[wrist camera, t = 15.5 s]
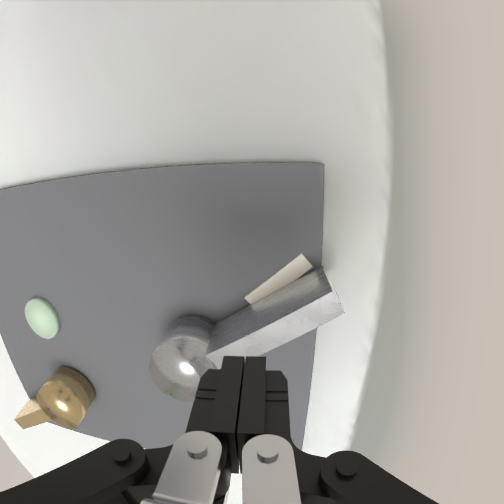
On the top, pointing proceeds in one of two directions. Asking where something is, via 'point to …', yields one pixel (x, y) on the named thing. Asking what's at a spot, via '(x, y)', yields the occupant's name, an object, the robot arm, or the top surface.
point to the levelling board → (151, 278)
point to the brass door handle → (59, 401)
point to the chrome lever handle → (240, 333)
